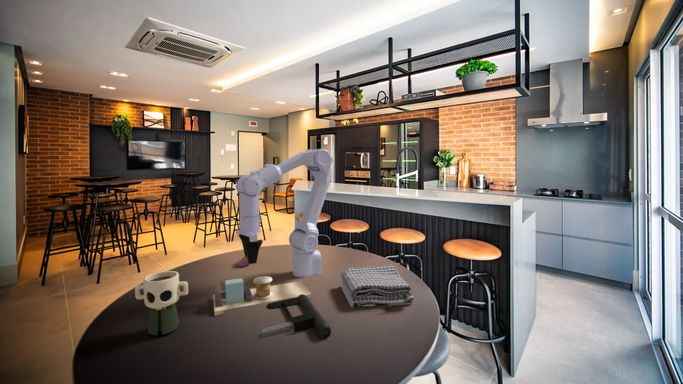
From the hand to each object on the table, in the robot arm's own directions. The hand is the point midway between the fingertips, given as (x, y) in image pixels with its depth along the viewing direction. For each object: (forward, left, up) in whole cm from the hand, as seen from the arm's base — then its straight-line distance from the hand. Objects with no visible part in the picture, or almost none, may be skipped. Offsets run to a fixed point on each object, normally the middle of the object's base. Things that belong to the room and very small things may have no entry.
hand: (250, 259), depth 95 cm
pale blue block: (+6, +9, -8) cm, 13 cm away
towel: (-32, +21, -10) cm, 39 cm away
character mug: (+22, +16, -10) cm, 29 cm away
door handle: (-6, +24, -10) cm, 27 cm away
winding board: (-2, +8, -9) cm, 13 cm away
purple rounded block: (-3, -27, -10) cm, 29 cm away
